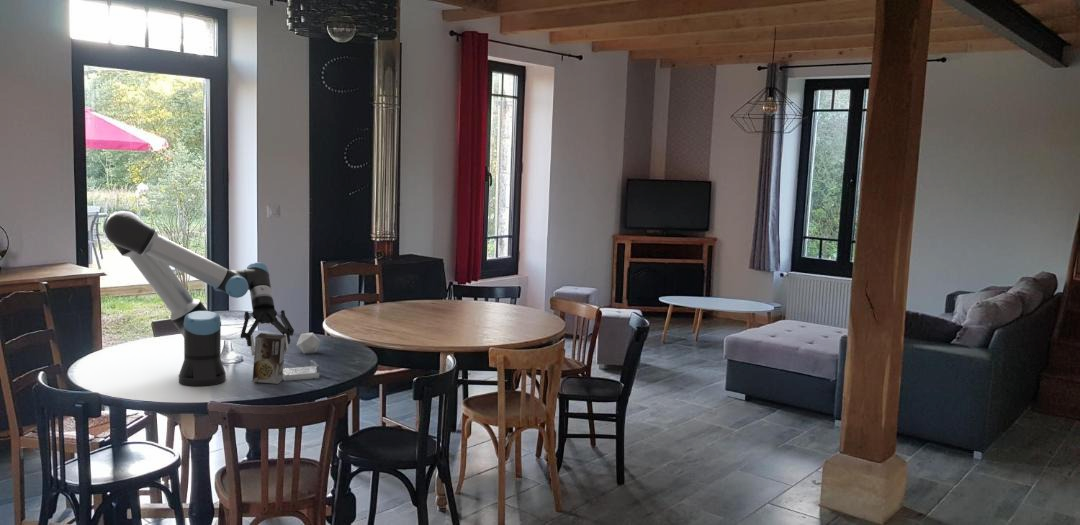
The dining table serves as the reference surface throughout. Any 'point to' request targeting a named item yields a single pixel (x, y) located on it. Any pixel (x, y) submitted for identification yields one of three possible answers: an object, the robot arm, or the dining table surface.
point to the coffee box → (269, 358)
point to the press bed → (301, 372)
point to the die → (308, 343)
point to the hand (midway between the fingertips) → (270, 352)
